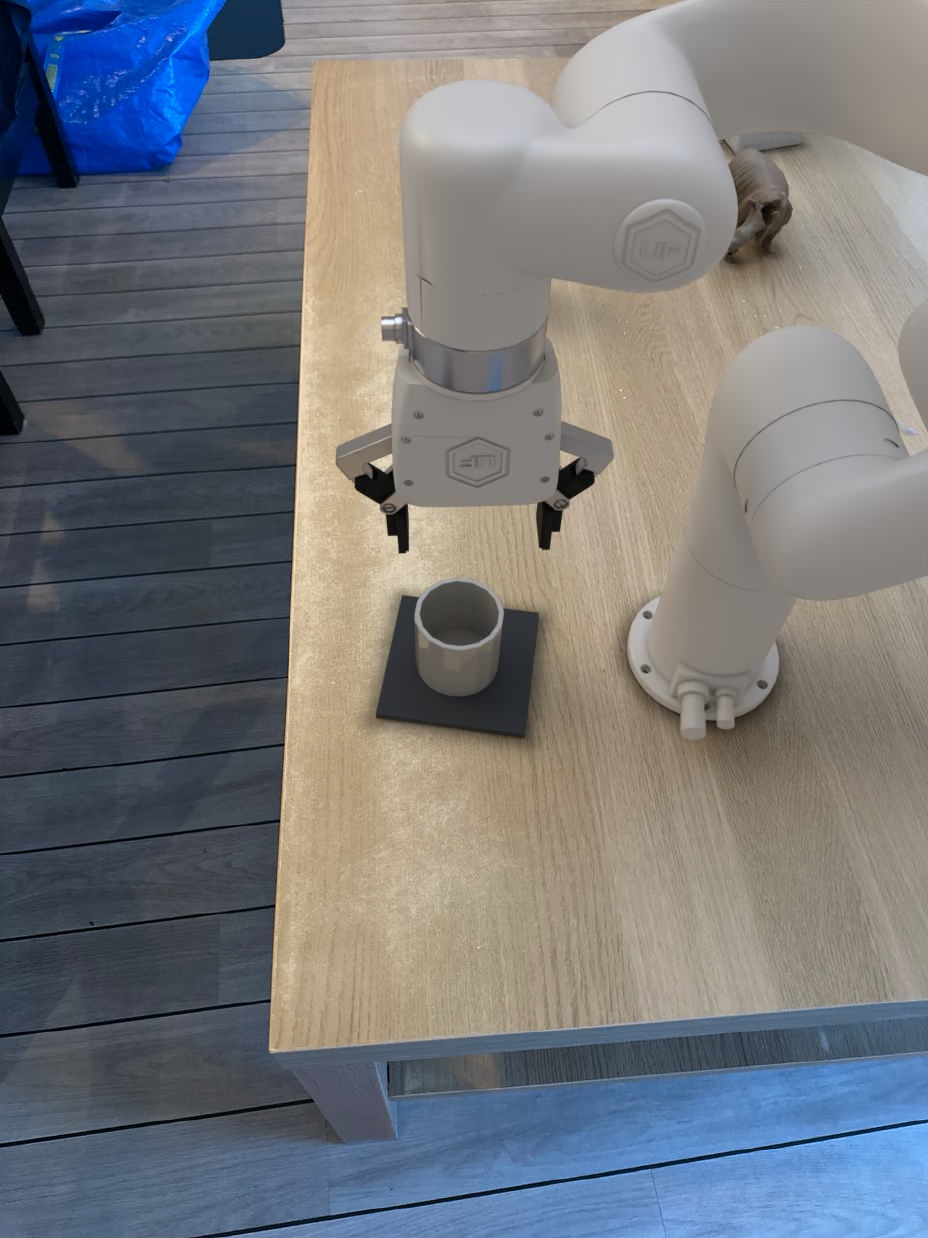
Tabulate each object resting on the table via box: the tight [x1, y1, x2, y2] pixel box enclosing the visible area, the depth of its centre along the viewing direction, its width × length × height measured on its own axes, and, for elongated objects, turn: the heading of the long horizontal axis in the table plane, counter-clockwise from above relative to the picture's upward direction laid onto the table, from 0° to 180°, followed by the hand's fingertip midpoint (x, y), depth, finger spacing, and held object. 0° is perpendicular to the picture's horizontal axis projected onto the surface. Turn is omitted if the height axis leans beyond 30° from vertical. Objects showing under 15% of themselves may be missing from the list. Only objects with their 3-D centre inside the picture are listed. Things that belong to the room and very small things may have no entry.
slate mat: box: [375, 594, 540, 739], centre depth 80 cm, size 12×12×1 cm
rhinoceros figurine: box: [723, 148, 794, 264], centre depth 112 cm, size 8×14×15 cm
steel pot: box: [415, 576, 504, 697], centre depth 77 cm, size 7×7×7 cm
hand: (473, 535), depth 66 cm, fingers open, 9 cm apart
